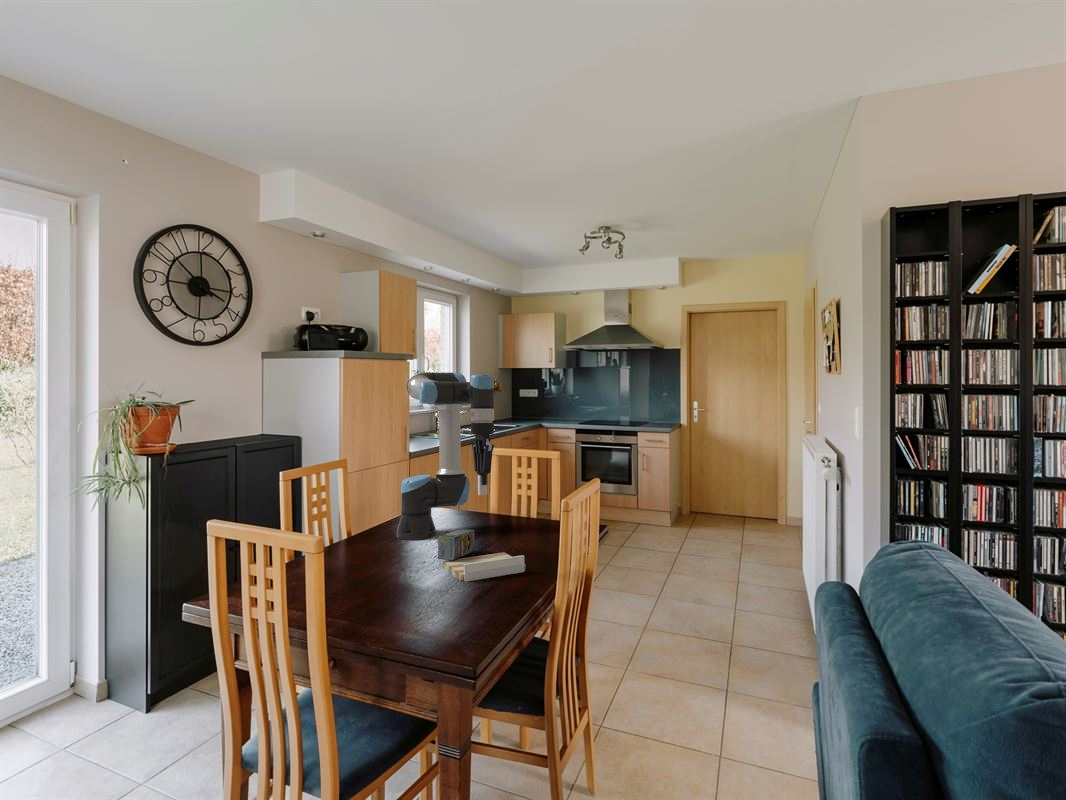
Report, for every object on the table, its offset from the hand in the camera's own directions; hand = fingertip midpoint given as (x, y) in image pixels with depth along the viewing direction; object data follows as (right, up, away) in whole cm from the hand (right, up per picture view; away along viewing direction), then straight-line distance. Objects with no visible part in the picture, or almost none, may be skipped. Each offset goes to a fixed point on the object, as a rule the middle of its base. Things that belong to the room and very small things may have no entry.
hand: (482, 494), depth 178 cm
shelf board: (0, -24, -1) cm, 24 cm away
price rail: (+5, -24, -9) cm, 26 cm away
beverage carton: (-7, -25, +17) cm, 31 cm away
